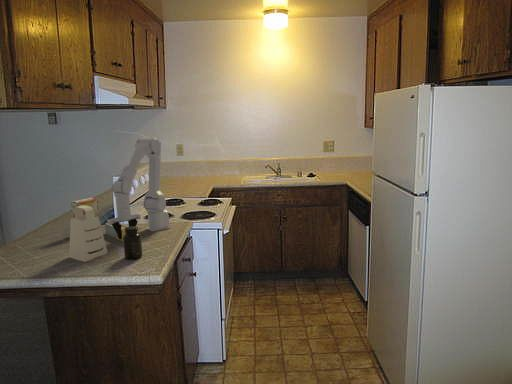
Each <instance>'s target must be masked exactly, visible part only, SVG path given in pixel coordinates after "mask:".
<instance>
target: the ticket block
mask: <svg viewBox="0 0 512 384" xmlns="http://www.w3.org/2000/svg"><path fill="white" fill-rule="evenodd" d="M120 225H122V226H121V227H123V226H126V225H125V224H123V223H120ZM104 228H105V229H104V230H105V234H107V235H110V236H112V237H114V238H116V239H117V234H116V231H115V229H114V227H113V226H112V225H109V224H108V222H105V223H104Z"/></svg>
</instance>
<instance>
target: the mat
mask: <svg viewBox="0 0 512 384" xmlns="http://www.w3.org/2000/svg"><path fill="white" fill-rule="evenodd" d="M103 236H104V240H107V241H109V242H111V243H112V244H115V245H117V246H119V247H121V248H124V244H123V241H121V240H118V239H116V238H114V237H112V236H110V235H107V234H106V233H103ZM141 242H142V243H145V242H146V243H147V242H151V239H147V238H145V237H144V236H141Z"/></svg>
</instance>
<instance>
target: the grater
mask: <svg viewBox="0 0 512 384" xmlns="http://www.w3.org/2000/svg"><path fill="white" fill-rule="evenodd" d="M83 209H84V210H85V213H86V215H83ZM74 212H75V218H73V217H71V218H70V224H69V225H70V229H69V232H70V233H69V249H68V250H69V253H68V258H70V259H72V260H73V259H74V260H77V261H80V262H84V263H86V262H89V261H92V260H96V258H98V257H101V256H105V255H106V254H108V248H107V244H106V241H105V240H106V239H105V238H104V236H103V234H104V233H103V229H102V225H101V222H100V216H99V217H98V216H94V209H93V207H91V206H85V205H83V206H78V207H75V209H74ZM97 227H98V228H97ZM93 228H94V229H96V230H92V229H93ZM95 251H96V252H95ZM92 252H93V253H92Z"/></svg>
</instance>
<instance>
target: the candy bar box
mask: <svg viewBox="0 0 512 384" xmlns="http://www.w3.org/2000/svg"><path fill="white" fill-rule="evenodd" d="M70 205H71V213H72V215H71V216H72V218H75V212H74V209H75V207H78V206H83V205H85V206H91V207H93V209H94V216H98V217H99V218H100V216H99V205H98V198H97V197H88V198H83V199H79V200H78V199H77V200H73V201H70ZM83 215H86V213H85V210H84V209H83ZM97 228H98V227H97ZM92 230H96V229H94V228H93V229H92Z"/></svg>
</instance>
